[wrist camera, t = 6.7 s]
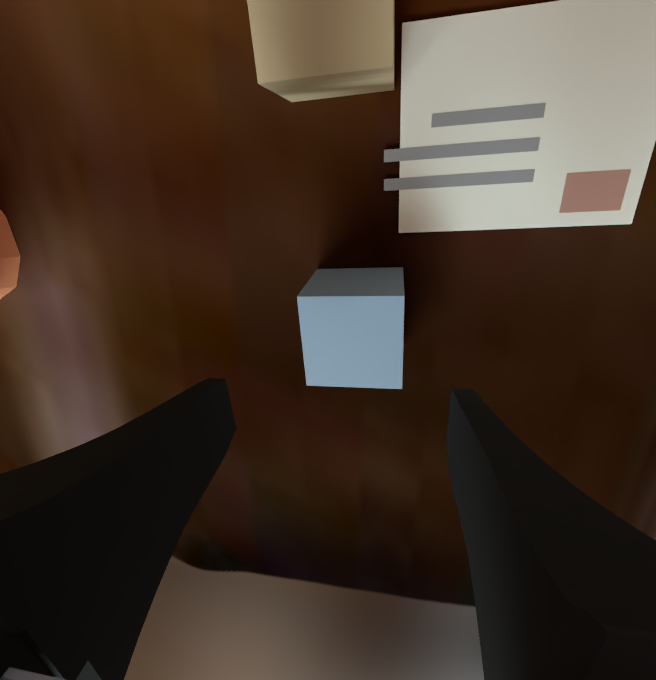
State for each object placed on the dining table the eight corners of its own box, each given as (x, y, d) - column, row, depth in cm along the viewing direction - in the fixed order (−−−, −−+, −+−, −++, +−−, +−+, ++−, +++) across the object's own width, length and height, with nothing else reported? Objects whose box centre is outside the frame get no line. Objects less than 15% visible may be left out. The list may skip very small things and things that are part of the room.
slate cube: (402, 266, 19) (404, 295, 15) (401, 344, 21) (402, 389, 17) (317, 268, 19) (296, 296, 15) (323, 343, 21) (306, 385, 17)
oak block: (395, -56, 13) (393, -146, 9) (394, 90, 15) (393, 66, 11) (279, -33, 14) (232, -108, 10) (292, 102, 16) (257, 83, 12)
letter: (698, -18, 12) (702, -21, 12) (629, 223, 16) (631, 223, 16) (384, 27, 14) (384, 25, 14) (384, 232, 18) (384, 233, 18)
